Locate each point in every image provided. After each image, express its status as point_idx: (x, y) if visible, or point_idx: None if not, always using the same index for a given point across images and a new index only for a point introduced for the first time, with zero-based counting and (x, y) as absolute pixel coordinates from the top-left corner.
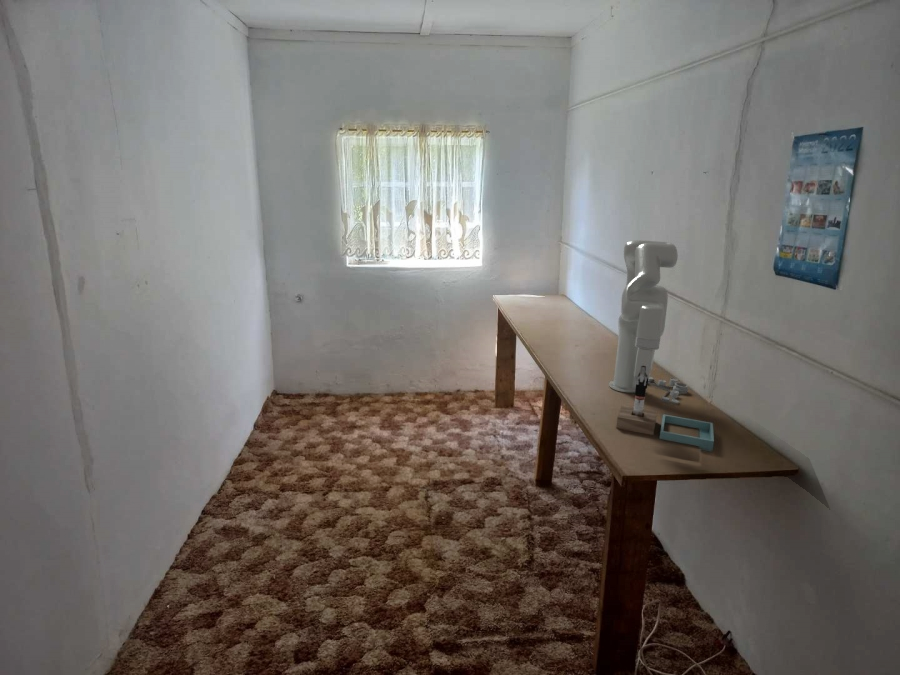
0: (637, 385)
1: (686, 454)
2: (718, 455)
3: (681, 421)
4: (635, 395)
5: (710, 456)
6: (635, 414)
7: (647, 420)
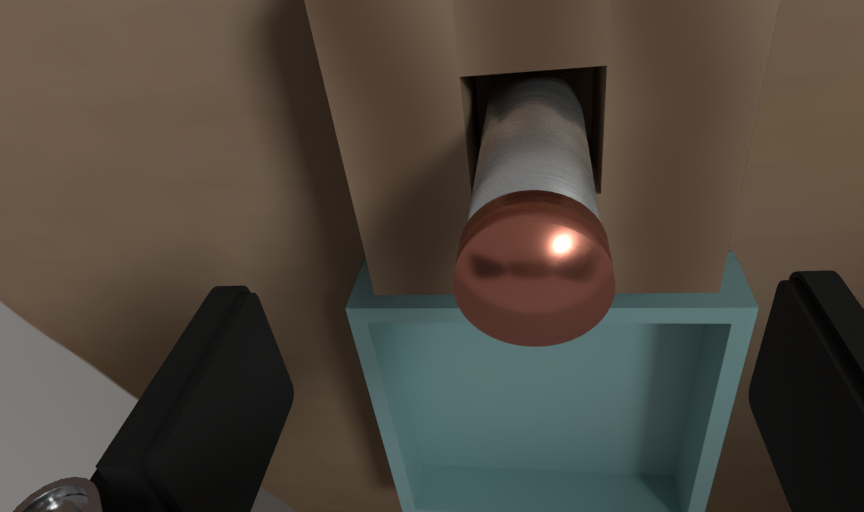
0: (126, 463)
1: (292, 378)
2: (387, 477)
3: (704, 394)
4: (220, 292)
5: (351, 454)
6: (486, 123)
7: (408, 239)
